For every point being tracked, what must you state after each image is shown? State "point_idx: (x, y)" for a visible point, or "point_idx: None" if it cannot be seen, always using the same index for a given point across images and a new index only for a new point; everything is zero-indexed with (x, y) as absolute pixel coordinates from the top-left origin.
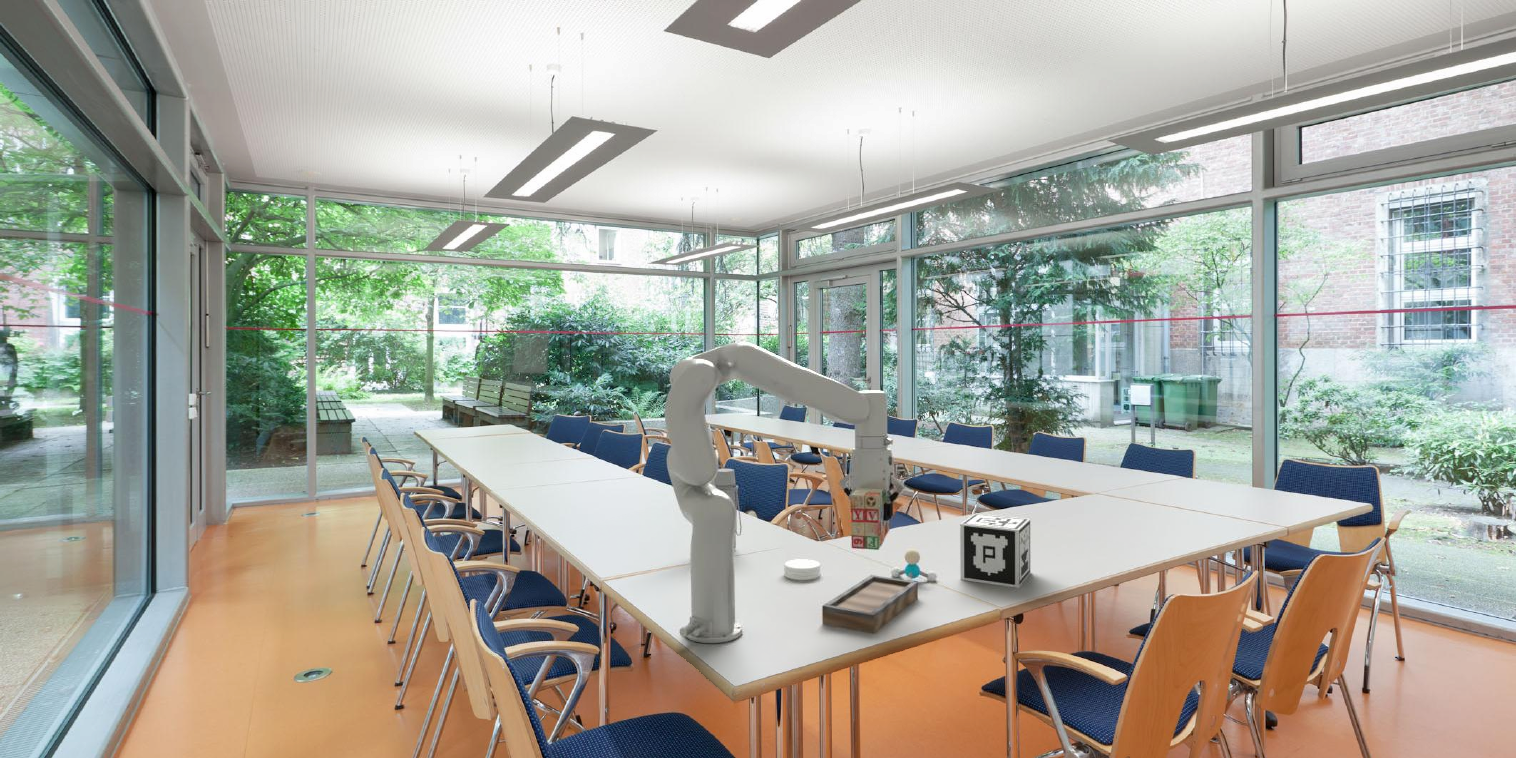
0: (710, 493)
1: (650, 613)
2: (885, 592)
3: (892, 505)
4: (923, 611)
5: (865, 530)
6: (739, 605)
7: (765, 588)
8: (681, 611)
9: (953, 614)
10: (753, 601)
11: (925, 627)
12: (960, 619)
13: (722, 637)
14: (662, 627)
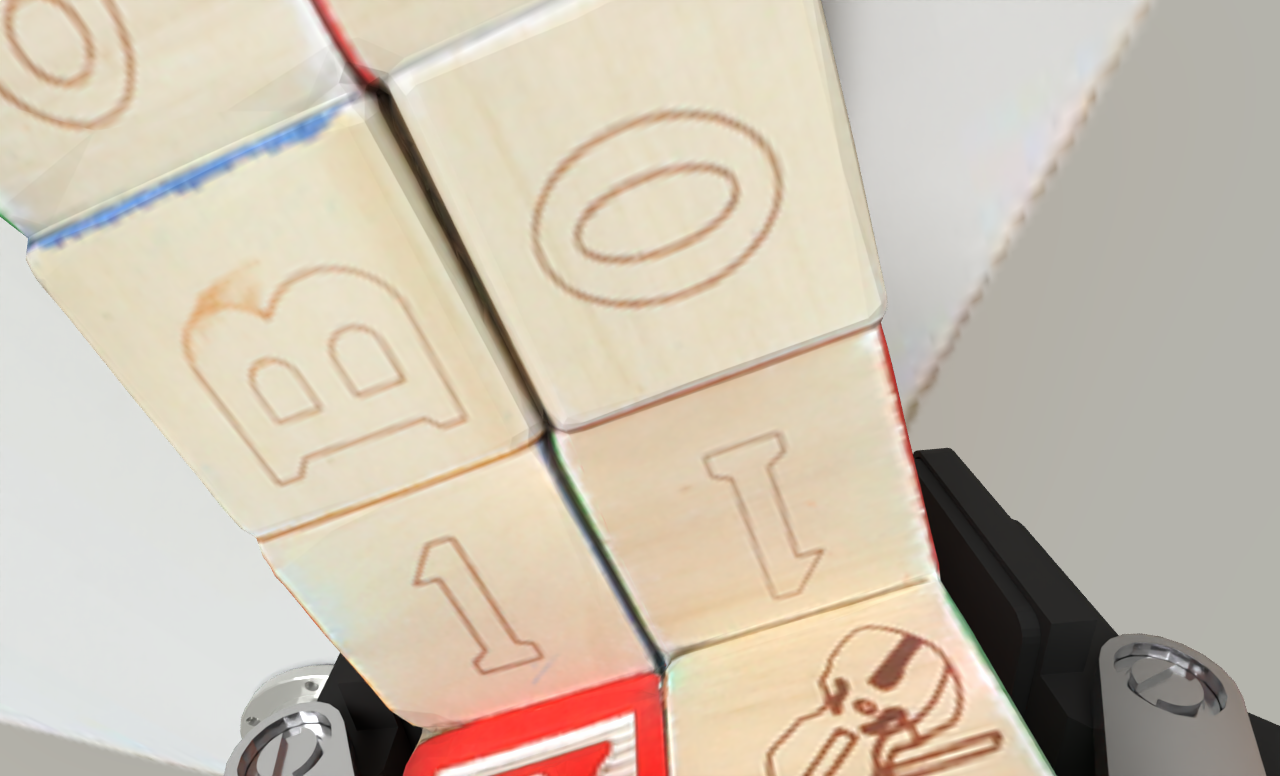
0: None
1: (34, 720)
2: None
3: (1105, 637)
4: (884, 102)
5: None
6: (161, 517)
7: (7, 271)
8: (81, 662)
9: (1044, 48)
10: (154, 451)
11: (951, 306)
12: (1090, 105)
13: None
14: (188, 766)
